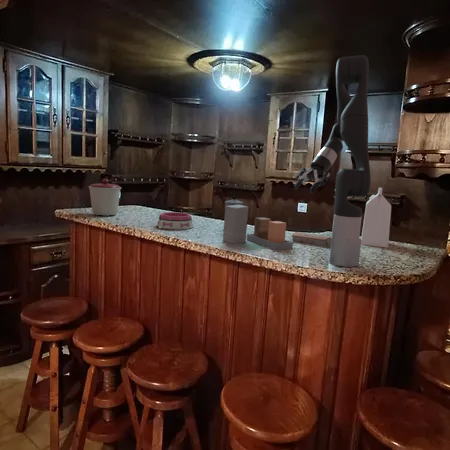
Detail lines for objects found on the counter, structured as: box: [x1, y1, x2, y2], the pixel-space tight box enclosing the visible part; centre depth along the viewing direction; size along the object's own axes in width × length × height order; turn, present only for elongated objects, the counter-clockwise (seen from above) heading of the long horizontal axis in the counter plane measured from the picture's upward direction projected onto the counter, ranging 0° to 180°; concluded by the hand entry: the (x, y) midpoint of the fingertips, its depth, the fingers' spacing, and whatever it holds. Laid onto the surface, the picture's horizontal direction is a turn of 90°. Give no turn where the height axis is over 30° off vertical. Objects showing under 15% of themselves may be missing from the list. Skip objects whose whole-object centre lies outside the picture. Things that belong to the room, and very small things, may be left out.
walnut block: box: [253, 217, 272, 241], centre depth 162 cm, size 5×5×10 cm
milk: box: [360, 187, 392, 248], centre depth 172 cm, size 12×12×26 cm
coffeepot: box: [222, 195, 245, 233], centre depth 183 cm, size 15×9×18 cm, turn 176°
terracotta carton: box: [268, 220, 287, 243], centre depth 152 cm, size 5×5×10 cm
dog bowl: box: [156, 211, 194, 231], centre depth 190 cm, size 18×19×7 cm
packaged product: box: [287, 231, 332, 249], centre depth 164 cm, size 18×5×10 cm
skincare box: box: [222, 205, 249, 244], centre depth 158 cm, size 8×7×16 cm
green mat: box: [237, 243, 268, 251], centre depth 150 cm, size 10×8×1 cm
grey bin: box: [246, 233, 294, 251], centre depth 157 cm, size 20×9×3 cm, turn 28°
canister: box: [88, 178, 122, 216], centre depth 215 cm, size 18×18×21 cm
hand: (303, 189), depth 154 cm, fingers open, 8 cm apart
